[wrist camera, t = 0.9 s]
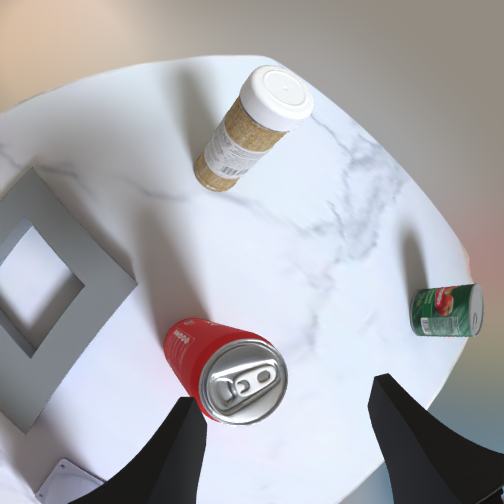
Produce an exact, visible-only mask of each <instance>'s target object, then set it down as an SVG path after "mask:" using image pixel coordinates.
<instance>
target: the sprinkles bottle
mask: <svg viewBox="0 0 504 504" xmlns="http://www.w3.org/2000/svg"><path fill="white" fill-rule="evenodd" d="M313 106H314V102H313V97H312V94H311V92H310V90H309V89H308V87H307V86H306V85H305V83H304V82H303V81H302V80H301V79H300V78H299V77H297V76H296V75H295V74H293V73H292V72H290V71H288V70H286V69H284V68H281V67H278V66H272V65H266V66H261V67H258V68H257V69H255V70H254V71H253V72H252V73H251V74H250V76H249V77H248V78H247V80H246V81H245V83H244V84H243V86H242V87H241V90H240V94H239V97H238V98H237V99H236V101H235V102H234V104H233V105H232V107H231V108H230V110H229V111H228V112H227V113H226V115H225V116H224V118H223V119H222V121H221V123H220V124H219V126H218V127H217V129H216V131H215V132H214V134H213V136H212V137H211V139H210V141H209V142H208V144H207V146H206V148H205V150H204V152H203V154H202V155H201V156H200V157H199V159H198V160H197V162H196V166H195V173H196V177H197V179H198V180H199V182H200V183H201V184H202V185H203V186H204V187H206V188H207V189H209V190H212V191H218V192H222V191H226V190H228V189H230V188H231V187H233V186H234V185H235V184H236V182H237V180H238V179H239V178H240V177H242V176H243V175H244V174H246V173H247V172H248V171H249V170H250V169H251V168H252V167H253V166H254V165H255V164H256V163H257V162H258V161H259V160H260V159H261V158H262V157H263V156H264V155H265V154H266V153H268V152H269V151H270V150H271V149H272V148H273V146H274V144H275V143H276V142H277V141H279V140H280V138H282V137H283V136H284V135H285V134H286V133H287V132H289V131H291V130H293V129H295V128H296V127H298V126H299V125H300V124H301V123H302V122H303V121H304V120H305V119H306V118H307V117H308V116H309V115H310V114H311V112H312V110H313Z"/></svg>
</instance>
